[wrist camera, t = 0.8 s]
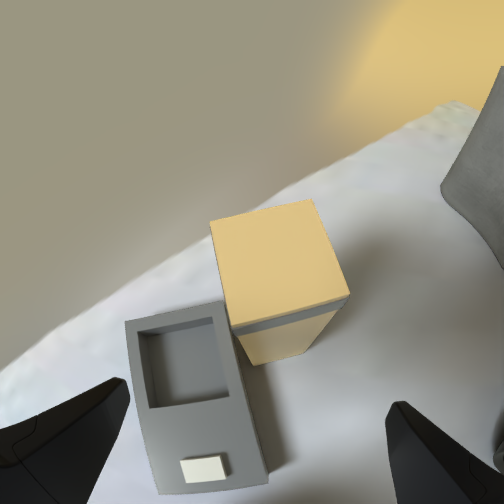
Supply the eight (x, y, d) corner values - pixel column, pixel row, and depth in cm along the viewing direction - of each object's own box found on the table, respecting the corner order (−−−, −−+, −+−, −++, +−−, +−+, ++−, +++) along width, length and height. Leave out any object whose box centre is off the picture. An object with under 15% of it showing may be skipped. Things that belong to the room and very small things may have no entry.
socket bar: (268, 474, 17) (268, 485, 14) (169, 486, 17) (156, 497, 14) (227, 309, 24) (221, 297, 21) (137, 328, 23) (121, 319, 20)
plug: (304, 353, 22) (352, 294, 9) (253, 367, 21) (230, 327, 9) (290, 305, 24) (312, 197, 11) (241, 318, 23) (207, 220, 11)
